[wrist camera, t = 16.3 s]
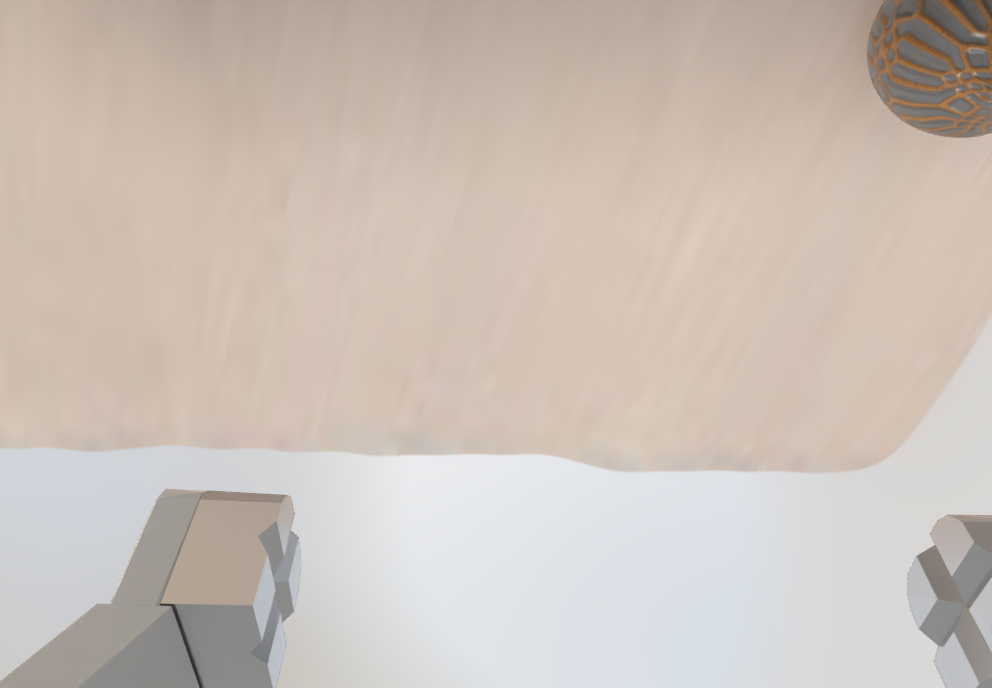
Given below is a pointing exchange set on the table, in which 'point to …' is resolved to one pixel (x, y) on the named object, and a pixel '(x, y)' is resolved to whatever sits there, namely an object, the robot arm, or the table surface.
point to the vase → (935, 64)
